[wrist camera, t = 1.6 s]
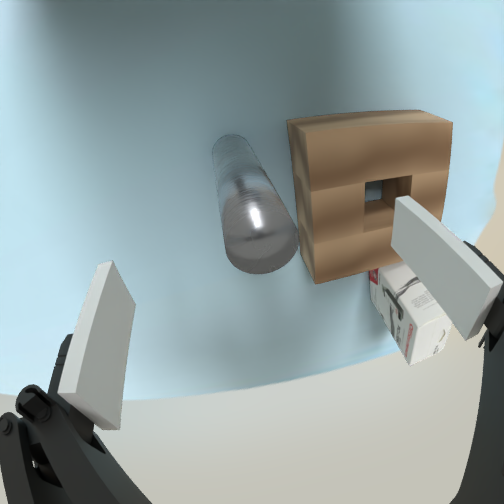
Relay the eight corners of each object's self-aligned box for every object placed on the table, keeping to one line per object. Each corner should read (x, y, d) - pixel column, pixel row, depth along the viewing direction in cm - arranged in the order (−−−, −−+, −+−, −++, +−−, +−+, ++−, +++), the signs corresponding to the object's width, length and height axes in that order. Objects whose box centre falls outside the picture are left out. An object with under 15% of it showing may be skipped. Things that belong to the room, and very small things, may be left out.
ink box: (365, 252, 33) (417, 327, 23) (400, 238, 33) (457, 306, 23) (369, 300, 38) (408, 370, 29) (400, 287, 38) (443, 351, 28)
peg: (208, 139, 23) (217, 220, 12) (247, 131, 23) (295, 204, 12) (216, 174, 25) (233, 280, 14) (253, 166, 25) (301, 265, 14)
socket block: (286, 119, 23) (305, 132, 19) (419, 109, 24) (452, 122, 20) (300, 253, 31) (315, 284, 27) (410, 227, 32) (434, 251, 28)
